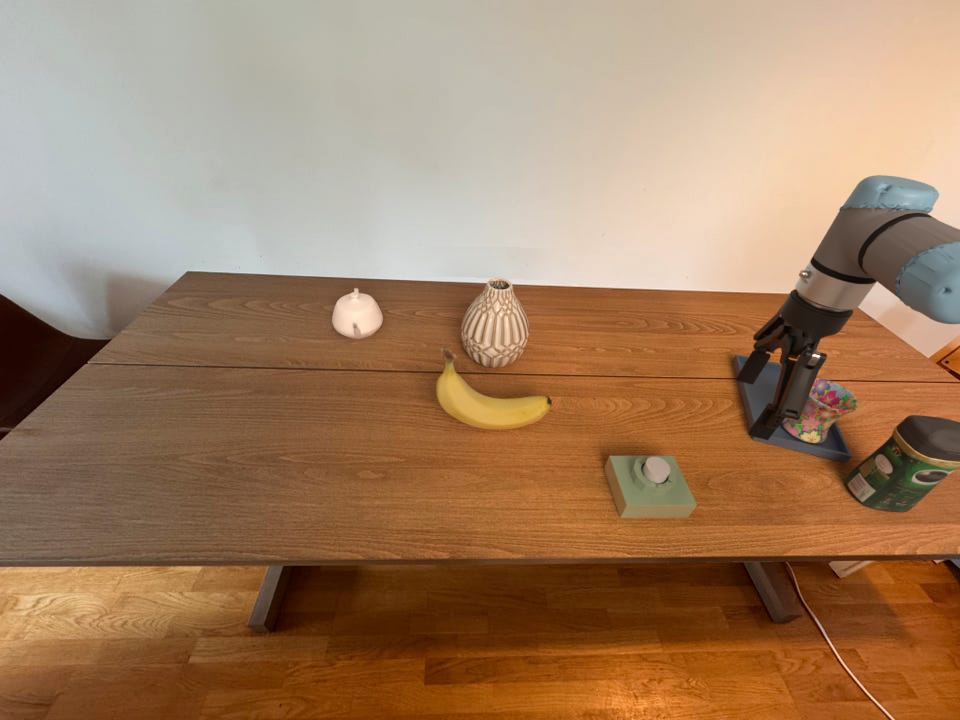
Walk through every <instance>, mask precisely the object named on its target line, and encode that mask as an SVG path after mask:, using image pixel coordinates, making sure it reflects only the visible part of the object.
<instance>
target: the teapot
mask: <svg viewBox="0 0 960 720" xmlns="http://www.w3.org/2000/svg"><path fill="white" fill-rule="evenodd" d="M383 320H384V315H383V312H382V310H381V308H380V306H379V305H378V303H377V301H376V300H375V298H373V297H372V296H371V295H369V294H367V293H364V292H363V293H362V292H360V290H359V288H357V287H353V292H351V293H349V294H348V293H347V294H345V295H343V296H341V297H339V299H337V301H336V303H335V305H334V308H333V312H332V317H331V324H332V326H333V328H334V330H335V331H336V332H337V333H339V335H342V336H344V337H346V338H350V339H353V340H354V339H355V340H357V339H358V340H361V339H365V338H368V337H370V336H372V335H374V334H375V333H376V332H377V331H379V329H380V328H381V326H382V325H383V322H384V321H383Z"/></svg>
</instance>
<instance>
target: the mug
mask: <svg viewBox="0 0 960 720" xmlns="http://www.w3.org/2000/svg"><path fill="white" fill-rule="evenodd" d="M858 408H859V401H858V399H857V397H856V396H855V395H854V394H853V393H852V392H851V391H850V390H849V389H847V388H845V387H844V386H842V385H840V384H838V383H837V382H835V381H832V380H829V379H825V378H820V377H816V379H815V381H814V384H813V386H812V389H811V391H810V394H809V396H808V399H807V401H806V404H805V406H804V409H803V411H802V413H801V416H800V418H799V420H794V419H790V418H785V419H784V420H783V422H782V423H781V424H782V426H783V427H784V428H785V429H786V430H787V431H788V432H789V433H790V434H791V435H793V436H794V437H796V438H798V439H800V440H802V441H805V442H809V443H821V442H823V441H825V440H826V438H827V432H828V429H829V428H830V426H831V425H832V424H833V423H834V422H835V421H836V422H837V420H839V419H840V418H842V417H844V416H846V415H848V414H850V413H853V412H855V411H856V410H858Z"/></svg>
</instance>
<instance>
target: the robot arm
mask: <svg viewBox="0 0 960 720" xmlns="http://www.w3.org/2000/svg"><path fill="white" fill-rule="evenodd" d="M939 197H940V192H939V191H938V189H936V187H934V186H933V185H931V184H928V183H925V182H922V181H919V180H916V179H911V178H907V177H901V176H895V175H886V174H885V175H883V174H877V175H876V174H875V175H870V176H867V177H864V178H863V179H862V180H861V181H859V182H858V183H857V184H856V186H855V187H854V188H853V190H852V192H851V193H850V195H848V197H847V199H846V200H845V202H844V203H843V205H842V206H840V207H839V209H838V213H837V214H836V216H835V218H834V219H833V221H832V223H831V224H830V226H829V228H828V230H827V232H826V233H825V235H824V236H823V238H822V240H821V241H820V243H819V244H818V246H817V248H816V249H815V252H814V253H813V255H812V257H811V259H810V260H809V262H808V264H807V265H806V267H805V268H804V269H801V270H799V273H798V276H799V278H798V280H797V282H796V284H795V286H794V289H792V290H791V291H790V293H789V294H788V296H787V298H786V299H785V300H784V303H783V304H782V305H781V307H780V308H779V309H778V310H777V312H776V313H775V315H773V316H772V317H771V318H770V319H769V320H768V321H766V323H765V324H764V325H763V326H762V327H761V328H759V330H758V331H756V332H755V333H754V335H753V337H752V340H753V341H755V342H754V343H753V350H752V351H751V352H750V354H749V356H748V357H749V358H748V359H747V361H746V363H745V364H744V366H743V368H742V369H741V371H740V373H739V374H738V376H737V377H735V381H736V382H738V381H740V382H744V383H748V384H752V385H753V384H754V382H755V380H756V379H757V377H758V376H759V374H760V373H761V371H762V370H763V368H764V367H765V365H766V363H767V362H768V361H769V360H770V359H771V358H772V357H771V354H775V353H776V350H778V349H780V351H781V353H780V358H779V364H782V369H781V373H780V377H779V380H778V384H777V388H776V392H775V396H774V400H773V404H770V403H768V405H766V408H765V409H764V410H763V412H762V413H761V415H760V416H759V418H758V419H757V420H756V422H755V423H754V425H753V426H752V427H751V429H749V430H748V436H749V437H751V436H753V437H757V438H761V439H765V440H768V439H769V438H770V437H771V435H772V434H773V433H774V432H775V430H776V429H777V428H778V427H779V425H780V424H781V423H782V422H783V420H784V419H785V418H790V419H794V420H799V418H800V416H801V413H802V411H803V409H804V406H805V404H806V401H807V399H808V396H809V394H810V391H811V389H812V386H813V384H814V381H815V379H816V378H817V376H818V374H819V371H820V369H821V368H822V367H823V365H824V364H825V362H826V361H827V358H828V355H827V353H825V352H821V351H818V350H817V349H818V346H819V344H820V342H821V340H822V339H824V338H827V337H830V336H834V335H837V334H839V333H840V332H841V330H842V329H843V328H844V326H845V325H846V324H847V322H848V321H849V319H851V317H852V316H853V314H854V310H856V309H858V308H859V306H860V305H862V302H863V301H864V300H865V298H866V297H867V296H868V294H869V293H870V292H871V290H872V289H873V287H874V286H875V285H876V284H877V283H878V284H880V285H881V286H882V287H884V289H886V290H887V291H889V292H890V293H891V294H892V295H894V296H895V297H897V299H899V301H900V302H902V303H903V305H905V306H906V307H909V308H910V309H911V310H913V311H915V312H918V313H920V314H921V315H924V316H925V317H927V318H928V319H930V320H932V321H934V322H937V323H940V324H946V325H960V229H959V228H957V227H955V226H952V225H950V224H948V223H945V222H943V221H941V220H939V219H937V218H935V217H933V216H932V215H931V214H929V213H931V212H932V211H933V210H934V205H935V204H936V202H937V201H938V200H939Z"/></svg>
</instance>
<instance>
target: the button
mask: <svg viewBox="0 0 960 720" xmlns="http://www.w3.org/2000/svg"><path fill="white" fill-rule="evenodd" d="M670 471H671V470H670V466H669V464H668V463H667V462H666V461H665V460H663V459H661V458H659V457H650V458H648V459H647V460H646V462H645V464H644V466H643V468H642V472H643V475H644V476H645V477H646V478H647V479H648V480H649V481H651V482H654V483H657V484H660V483H663V482H665V481H666V479H667V477H668V475H669V474H670Z"/></svg>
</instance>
